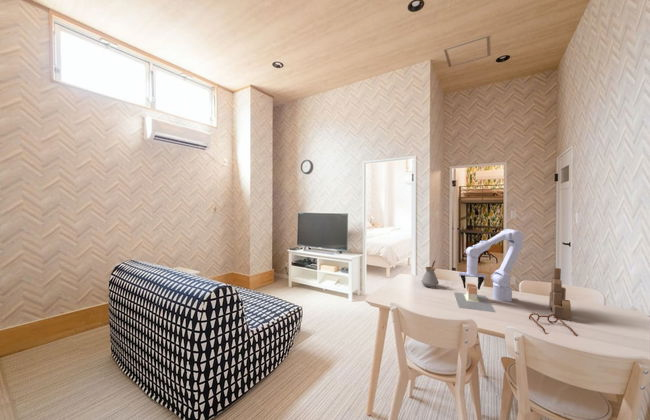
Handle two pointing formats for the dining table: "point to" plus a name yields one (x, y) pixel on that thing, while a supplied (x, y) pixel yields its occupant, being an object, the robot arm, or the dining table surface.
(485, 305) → the baseplate
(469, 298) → the cream brick
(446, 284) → the dining table surface
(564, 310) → the wooden toy
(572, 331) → the glasses
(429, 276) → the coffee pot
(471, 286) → the terracotta brick
